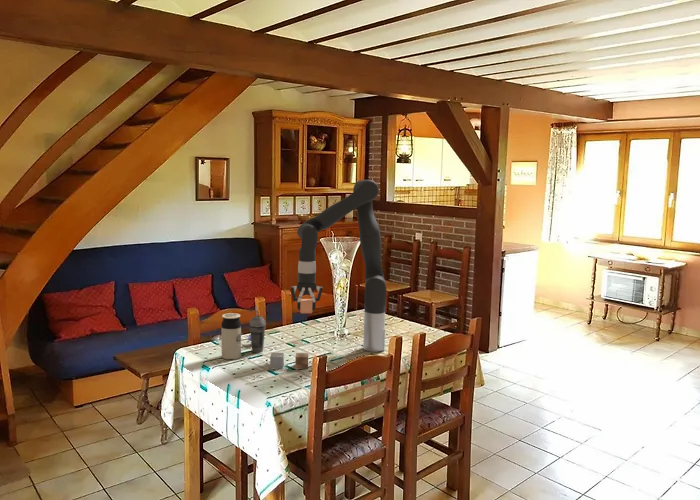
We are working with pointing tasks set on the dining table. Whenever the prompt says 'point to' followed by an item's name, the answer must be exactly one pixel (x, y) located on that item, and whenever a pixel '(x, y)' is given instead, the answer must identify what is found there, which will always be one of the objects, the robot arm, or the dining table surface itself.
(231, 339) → the travel mug
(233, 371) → the dining table surface
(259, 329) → the beverage cup
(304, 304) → the terracotta block
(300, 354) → the walnut block
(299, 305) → the robot arm
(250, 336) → the geometric puzzle
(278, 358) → the slate block
